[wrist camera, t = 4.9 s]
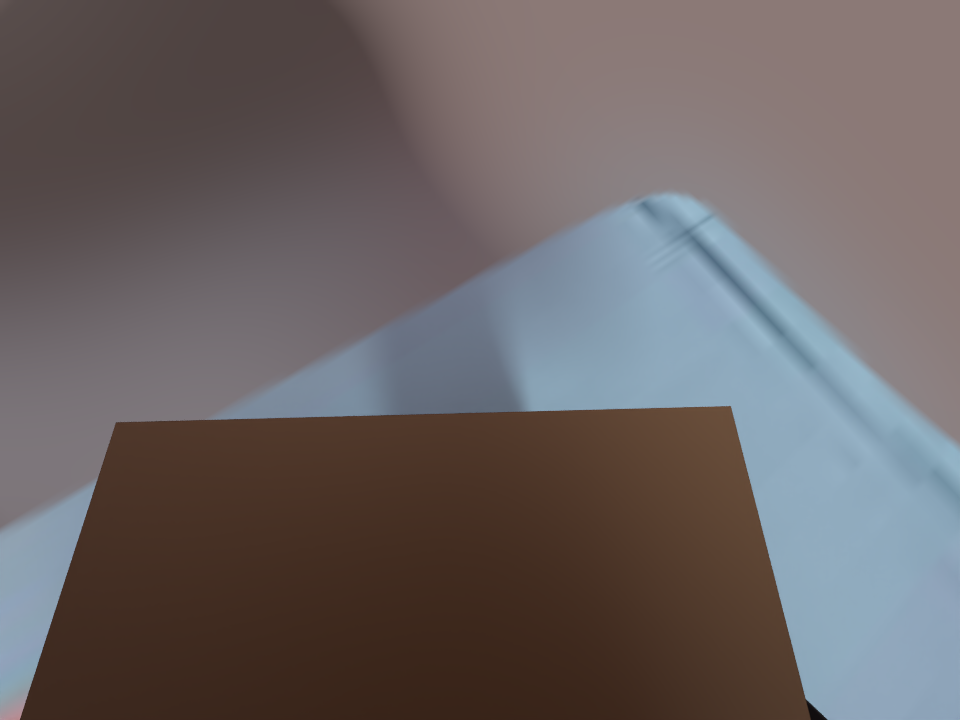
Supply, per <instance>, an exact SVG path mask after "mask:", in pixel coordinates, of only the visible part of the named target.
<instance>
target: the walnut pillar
mask: <svg viewBox="0 0 960 720" xmlns="http://www.w3.org/2000/svg"><path fill="white" fill-rule="evenodd" d="M20 720H811V718H810V714H809V711H808V707H807V703H806V699H805V695H804V691H803V687H802V683H801V679H800V675H799V671H798V668H797V664H796V660H795V656H794V652H793V648H792V644H791V640H790V636H789V632H788V628H787V624H786V621H785V617H784V613H783V609H782V605H781V601H780V597H779V593H778V589H777V585H776V581H775V578H774V574H773V570H772V566H771V562H770V558H769V554H768V550H767V546H766V542H765V538H764V535H763V531H762V527H761V523H760V519H759V515H758V511H757V507H756V503H755V499H754V495H753V491H752V488H751V484H750V480H749V476H748V472H747V468H746V464H745V460H744V456H743V452H742V448H741V445H740V441H739V437H738V433H737V429H736V425H735V421H734V417H733V413H732V409H731V406H720V407H683V408H645V409H607V410H569V411H532V412H494V413H456V414H418V415H381V416H343V417H305V418H267V419H230V420H192V421H155V422H118V423H116V424H115V428H114V431H113V434H112V437H111V440H110V443H109V446H108V449H107V452H106V455H105V459H104V462H103V465H102V468H101V471H100V474H99V477H98V480H97V483H96V486H95V489H94V492H93V495H92V499H91V502H90V505H89V508H88V511H87V514H86V517H85V520H84V523H83V526H82V529H81V533H80V536H79V539H78V542H77V545H76V548H75V551H74V554H73V557H72V560H71V563H70V567H69V570H68V573H67V576H66V579H65V582H64V585H63V588H62V591H61V594H60V597H59V601H58V604H57V607H56V610H55V613H54V616H53V619H52V622H51V625H50V628H49V632H48V635H47V638H46V641H45V644H44V647H43V650H42V653H41V656H40V659H39V662H38V666H37V669H36V672H35V675H34V678H33V681H32V684H31V687H30V690H29V693H28V696H27V700H26V703H25V706H24V709H23V712H22V715H21V718H20Z"/></svg>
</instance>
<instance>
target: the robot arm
mask: <svg viewBox="0 0 960 720" xmlns="http://www.w3.org/2000/svg"><path fill="white" fill-rule="evenodd" d="M806 703H807V707H808V711H809V714H810V718H811V720H827V719H826V718H825V717H824V716H823V715H822V714H821V713H820V712H819V711H818V710H817V709H816V708H815V707H814V706H813V705H811V704H810V703H809V702H808V701H807V700H806Z"/></svg>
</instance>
